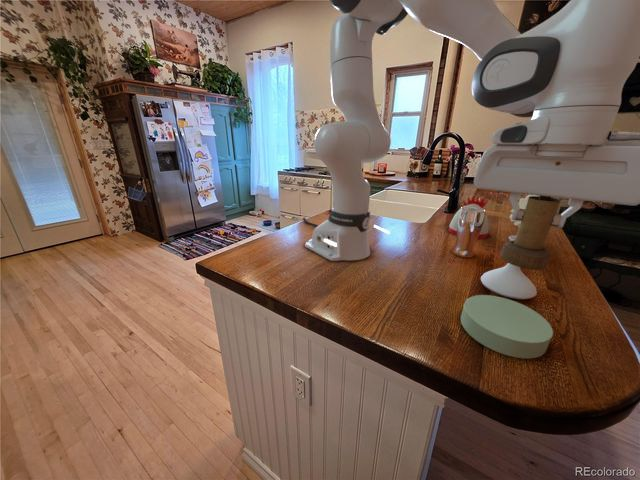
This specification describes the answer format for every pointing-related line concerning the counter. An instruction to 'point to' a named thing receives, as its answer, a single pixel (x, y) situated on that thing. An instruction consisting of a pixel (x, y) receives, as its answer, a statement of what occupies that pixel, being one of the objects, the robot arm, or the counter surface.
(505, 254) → the mortar and pestle
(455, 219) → the kitchen timer
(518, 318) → the disc
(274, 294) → the counter surface
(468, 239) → the beer glass
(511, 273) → the flower in vase
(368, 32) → the robot arm
